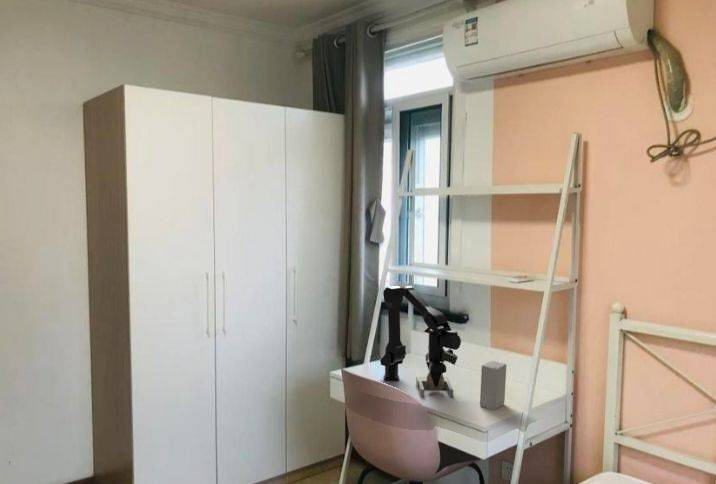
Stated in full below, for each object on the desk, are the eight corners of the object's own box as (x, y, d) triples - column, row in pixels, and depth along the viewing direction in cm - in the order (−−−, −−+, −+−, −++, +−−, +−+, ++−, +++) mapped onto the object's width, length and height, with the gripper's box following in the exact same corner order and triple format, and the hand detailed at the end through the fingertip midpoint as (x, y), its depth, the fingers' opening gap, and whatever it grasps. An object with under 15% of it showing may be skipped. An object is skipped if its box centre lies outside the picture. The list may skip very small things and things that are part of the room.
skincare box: (489, 400, 217) (490, 359, 216) (506, 405, 212) (507, 363, 211) (478, 406, 210) (479, 364, 209) (496, 411, 206) (497, 367, 205)
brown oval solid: (423, 387, 228) (423, 366, 228) (438, 385, 231) (438, 364, 230) (431, 392, 222) (431, 370, 221) (447, 391, 224) (447, 369, 224)
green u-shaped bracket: (416, 383, 237) (416, 376, 237) (447, 384, 237) (447, 377, 237) (420, 397, 220) (420, 389, 220) (453, 397, 220) (454, 389, 220)
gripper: (460, 351, 216) (459, 391, 217) (452, 339, 235) (451, 377, 236) (430, 350, 216) (430, 391, 217) (425, 339, 235) (424, 376, 236)
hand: (435, 383), depth 226 cm, fingers closed on brown oval solid, 7 cm apart
